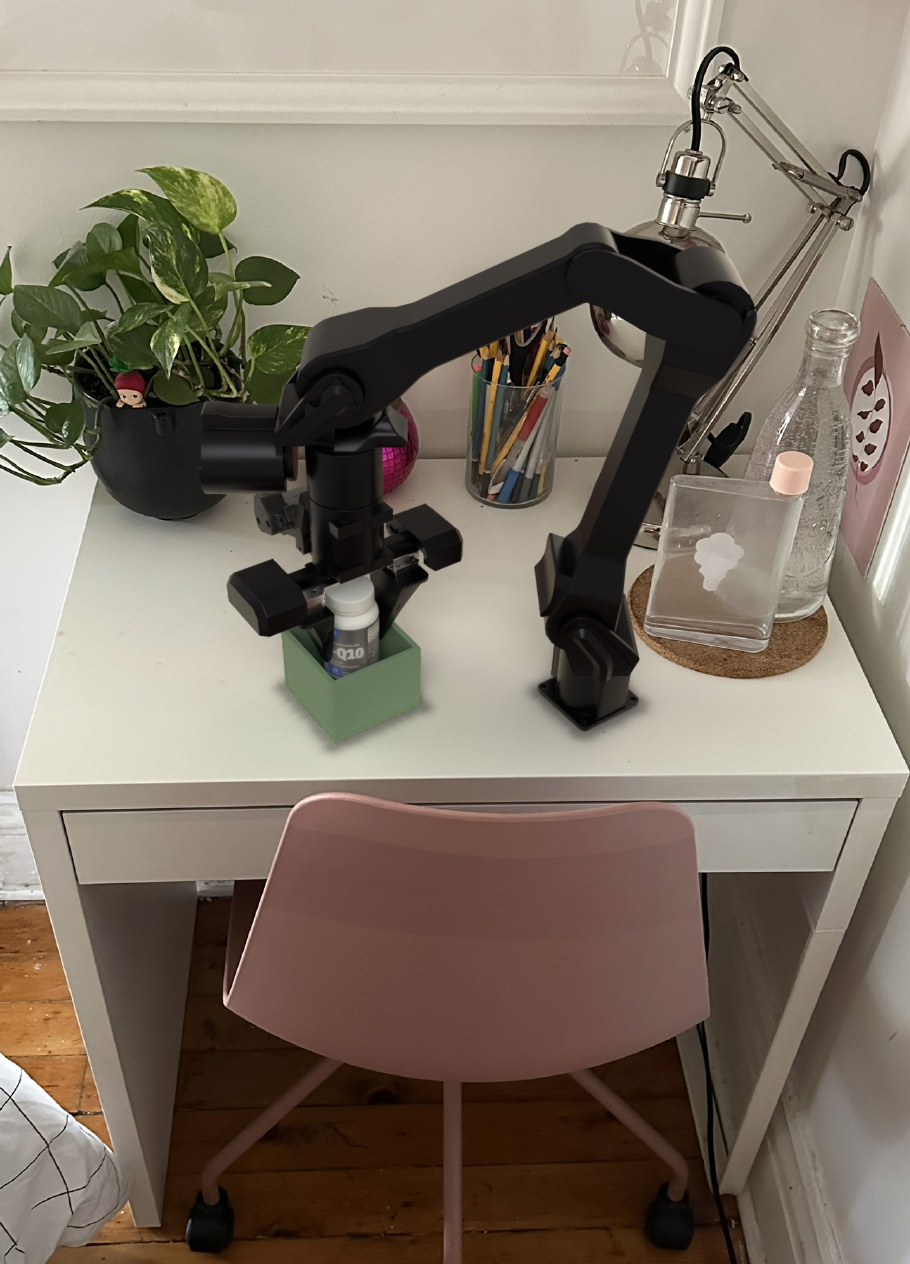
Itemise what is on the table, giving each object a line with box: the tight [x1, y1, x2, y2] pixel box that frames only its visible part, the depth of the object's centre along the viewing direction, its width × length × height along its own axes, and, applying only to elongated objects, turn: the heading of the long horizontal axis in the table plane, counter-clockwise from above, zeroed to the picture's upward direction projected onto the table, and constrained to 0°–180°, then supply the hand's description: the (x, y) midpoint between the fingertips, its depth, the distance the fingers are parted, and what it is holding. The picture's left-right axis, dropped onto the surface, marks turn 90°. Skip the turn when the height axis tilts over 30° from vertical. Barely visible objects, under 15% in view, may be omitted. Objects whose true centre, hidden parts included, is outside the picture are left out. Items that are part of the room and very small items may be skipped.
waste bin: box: [280, 621, 422, 744], centre depth 97 cm, size 8×8×6 cm
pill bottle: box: [323, 575, 379, 679], centre depth 94 cm, size 5×5×8 cm
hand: (351, 647), depth 96 cm, fingers closed on pill bottle, 5 cm apart
